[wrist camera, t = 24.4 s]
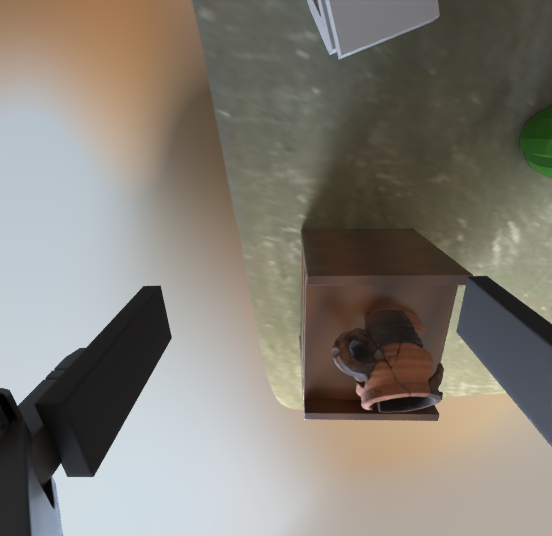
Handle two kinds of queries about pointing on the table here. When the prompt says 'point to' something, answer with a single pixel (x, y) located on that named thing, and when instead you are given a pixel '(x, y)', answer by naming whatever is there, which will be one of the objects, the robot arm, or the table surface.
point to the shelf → (368, 307)
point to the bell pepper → (538, 142)
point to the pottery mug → (390, 362)
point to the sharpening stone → (368, 21)
